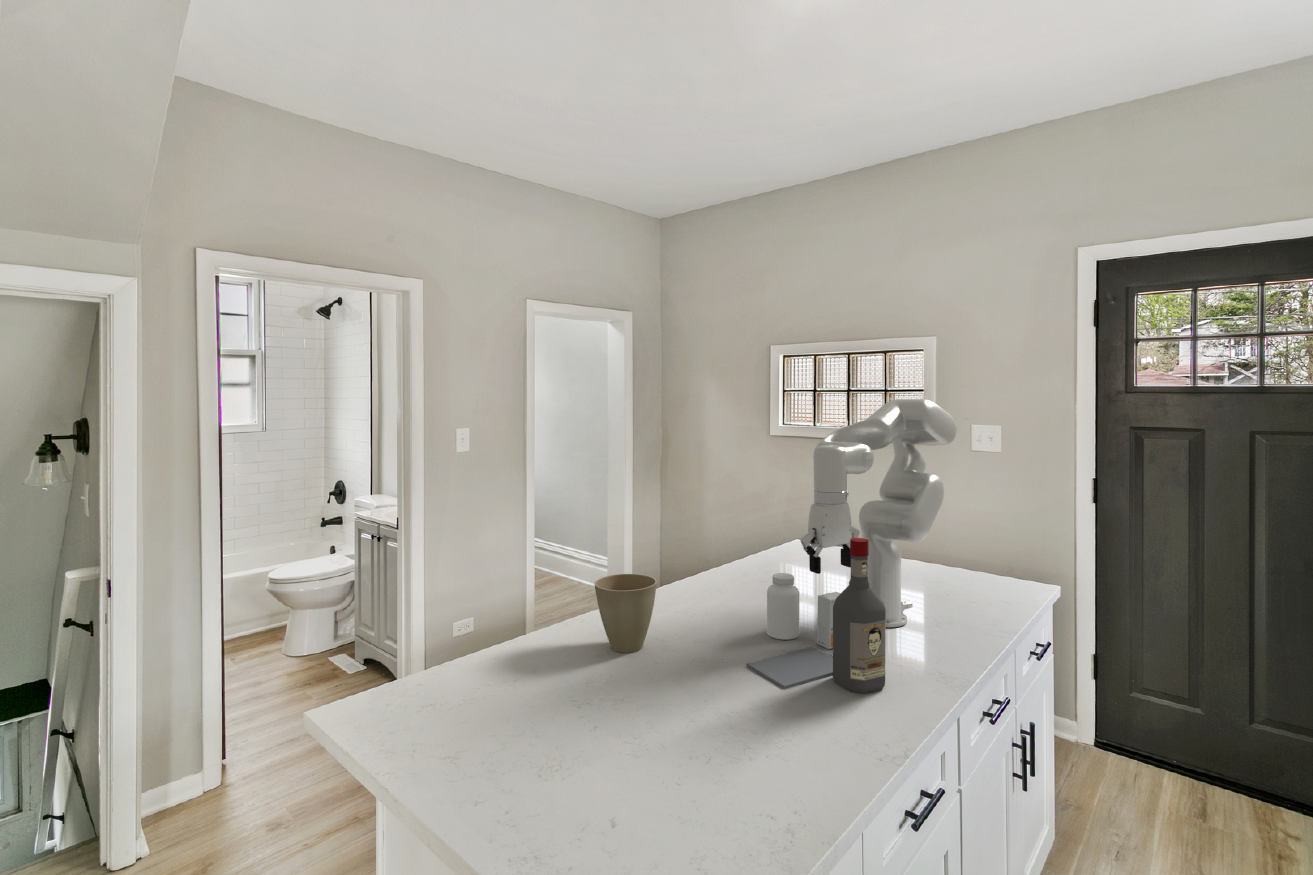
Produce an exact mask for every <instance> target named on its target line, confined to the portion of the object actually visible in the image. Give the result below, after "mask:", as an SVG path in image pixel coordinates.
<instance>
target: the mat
mask: <svg viewBox="0 0 1313 875" xmlns="http://www.w3.org/2000/svg"><path fill="white" fill-rule="evenodd" d="M746 667H747V668H749V669H751V670H752V671H754V672H756V674H758V675H761V676H762V677H763V678H765V679H767V680H769V681H770V682H772V683H774V684H776V685H777V686H779V687H780V688H782V689H784V690H786V689H789V688H793V687H797V686H799V685H804V684H806V683H811V682H813V681H817V680H820V679H823V678H827V677H830V676H833V655H831V654H829V653H827V652H825V651H823V650H821V649H819V648H816V647H814V646H808V647H804V648H802V649H801V648H800V649H796V650H792V651H789V652H788V651H787V652H786V653H785V652H784V653H782V654H778V655H777V654H776V655H774V656H773V655H772V656H770V657H766V658H762V659H757V660H754V661H750V662H747V663H746Z"/></svg>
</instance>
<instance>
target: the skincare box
mask: <svg viewBox="0 0 1313 875" xmlns="http://www.w3.org/2000/svg"><path fill="white" fill-rule="evenodd" d="M841 593H842V592H838V591H834V592H826V593H823V594H819V595H818V594H817V619H816V620H817V624H816V626H817V629H816V630H817V631H816V632H817V633H816V636H817V637H816V638H817V639H816V643H817V644H818V645H819V646H821V647H823V648H825V649H828V650H830V649H831V650H832V649H833V605H834V603H835V600H836V598H837V597H838V596H839V595H840V594H841Z"/></svg>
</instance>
